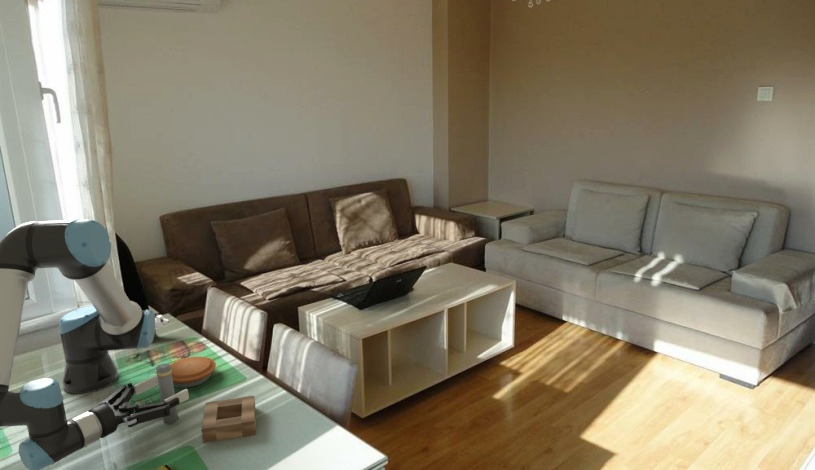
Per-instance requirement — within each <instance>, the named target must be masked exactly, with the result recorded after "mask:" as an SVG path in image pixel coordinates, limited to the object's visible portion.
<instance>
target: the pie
mask: <svg viewBox="0 0 815 470" xmlns="http://www.w3.org/2000/svg"><path fill="white" fill-rule="evenodd" d="M169 364H170V365H171V369H172V379H173V386H174V387H176V388H181V389H182V388H185V389H187V388H192V387H193V388H194V387H196V386H199V385H201V384H204V383H205V382H207V381H208V380H209V379H210V377H211V376H212V373H213V372H214V370H215V368H216V366H217V365H216V362H215V360H214V359H212V358H210V357H206V356H189V357H184V358H182V359H178V360H176V361H174V362H173V363H169Z"/></svg>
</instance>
